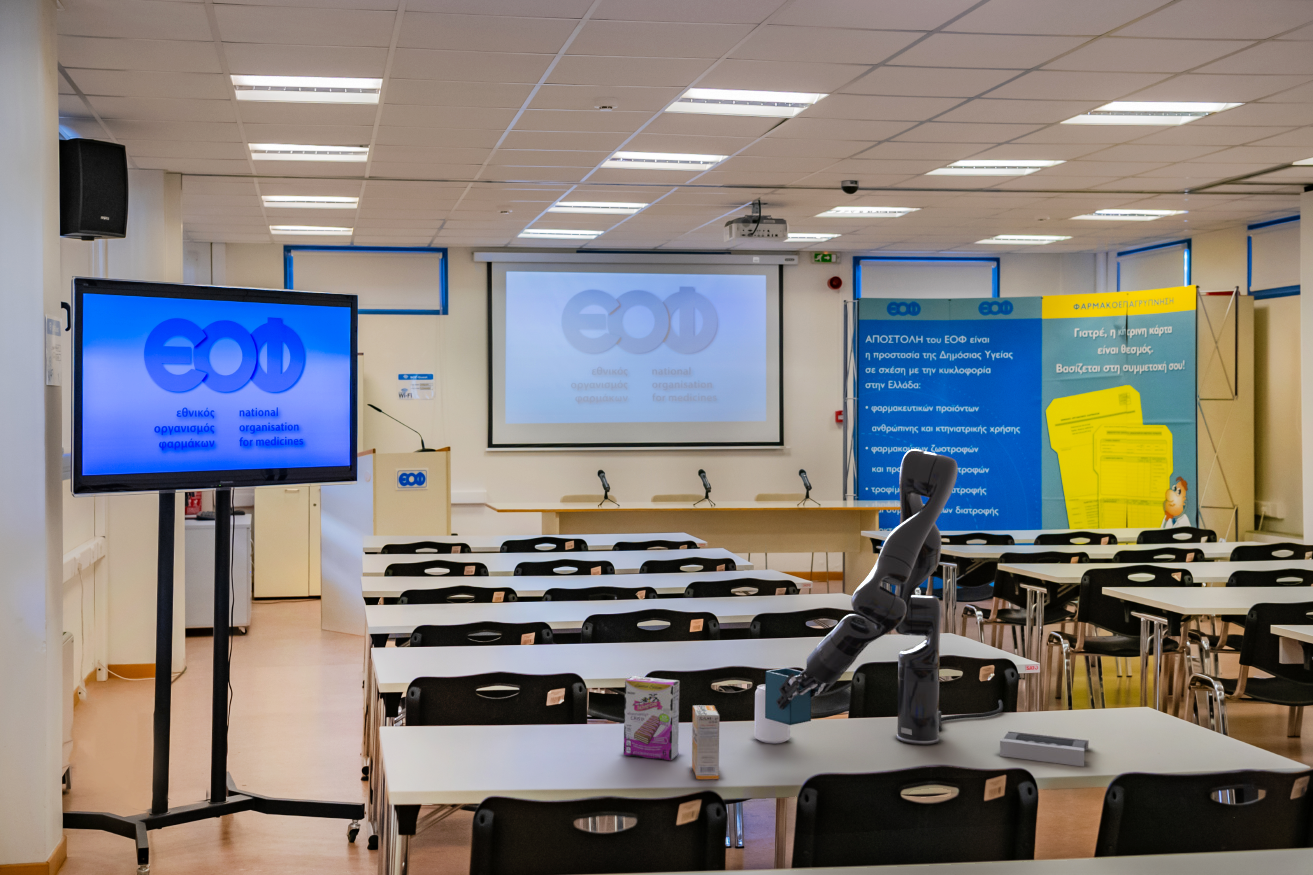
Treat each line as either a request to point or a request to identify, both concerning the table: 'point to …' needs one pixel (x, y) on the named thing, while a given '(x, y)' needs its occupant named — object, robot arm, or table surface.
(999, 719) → the table surface
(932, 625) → the robot arm
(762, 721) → the beverage can
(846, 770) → the table surface
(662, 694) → the candy bar box
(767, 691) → the teal rectangular box
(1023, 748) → the grey slotted tray
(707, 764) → the supplement box
